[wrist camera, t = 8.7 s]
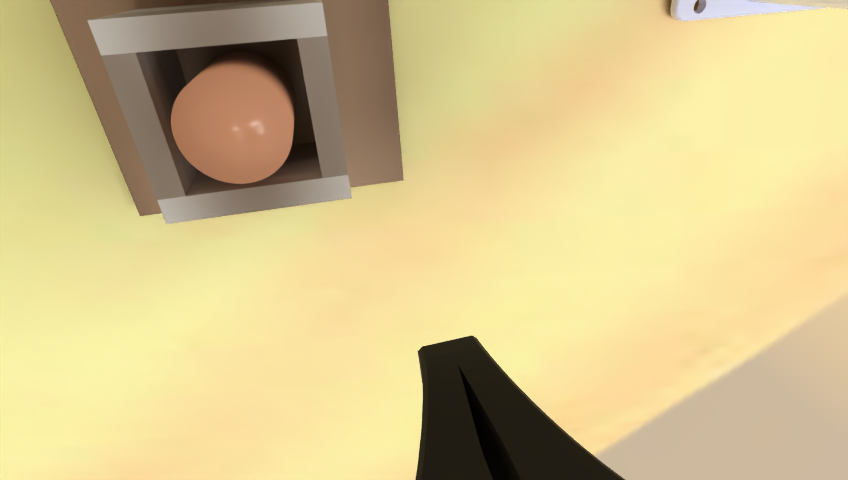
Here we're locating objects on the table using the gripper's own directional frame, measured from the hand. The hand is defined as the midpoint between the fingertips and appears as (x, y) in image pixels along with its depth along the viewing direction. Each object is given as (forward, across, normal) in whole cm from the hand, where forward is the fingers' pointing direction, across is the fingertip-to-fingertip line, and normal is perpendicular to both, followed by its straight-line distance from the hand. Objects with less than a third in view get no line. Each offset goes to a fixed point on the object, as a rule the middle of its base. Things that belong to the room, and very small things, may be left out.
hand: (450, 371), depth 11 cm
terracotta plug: (+9, +4, -5) cm, 11 cm away
